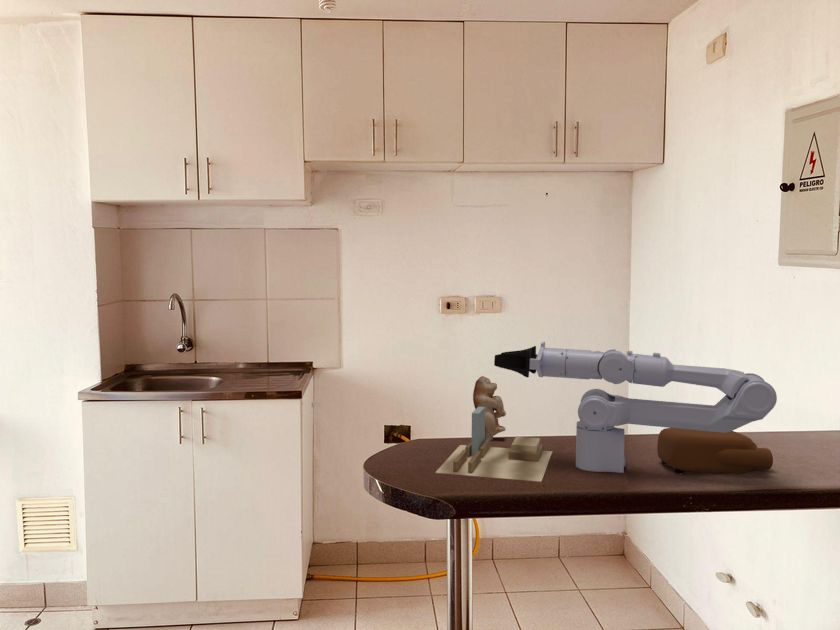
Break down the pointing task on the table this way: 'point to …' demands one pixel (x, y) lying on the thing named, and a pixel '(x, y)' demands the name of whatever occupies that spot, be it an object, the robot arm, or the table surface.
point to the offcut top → (525, 445)
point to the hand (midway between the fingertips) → (497, 359)
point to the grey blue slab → (478, 429)
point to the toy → (711, 451)
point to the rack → (493, 463)
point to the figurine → (489, 405)
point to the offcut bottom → (525, 455)
